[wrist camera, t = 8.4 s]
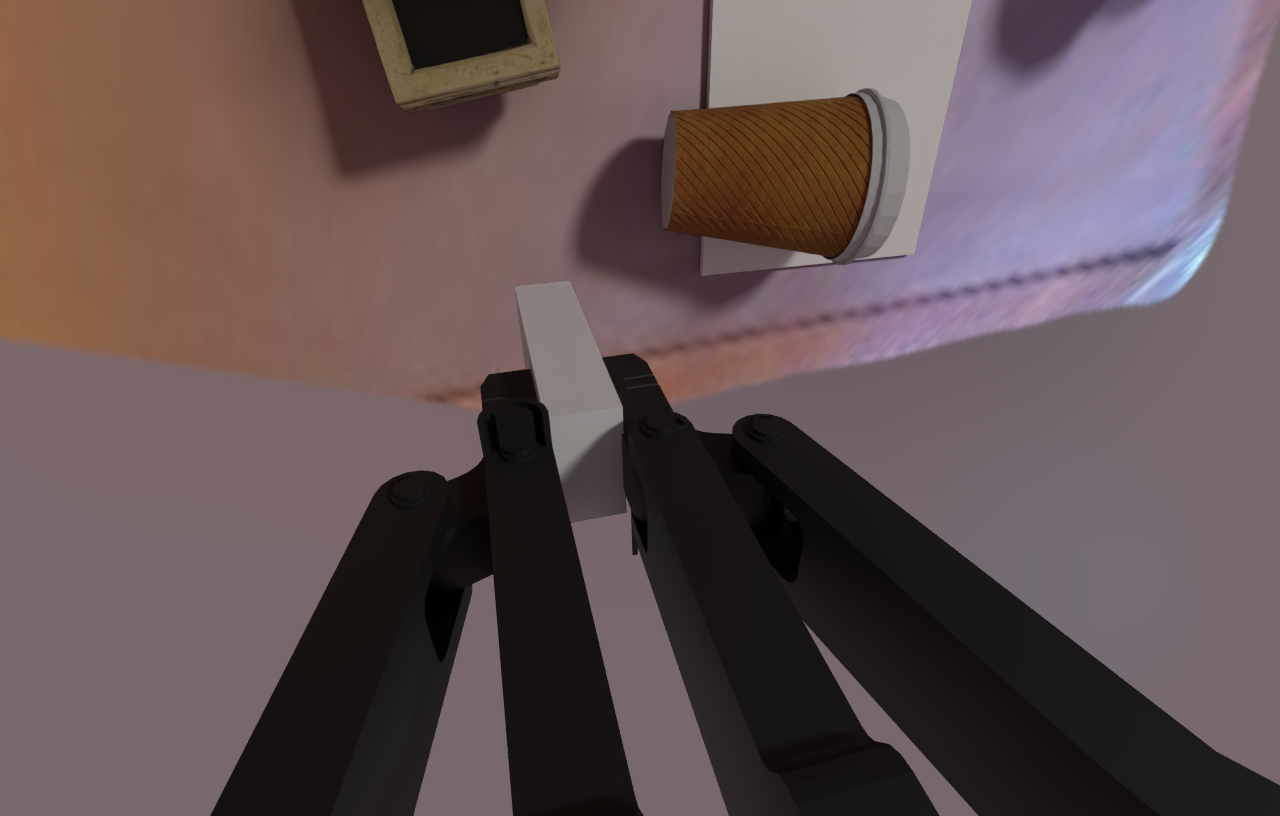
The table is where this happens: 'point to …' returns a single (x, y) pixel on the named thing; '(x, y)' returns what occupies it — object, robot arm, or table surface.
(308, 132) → the table surface
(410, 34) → the box
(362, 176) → the table surface
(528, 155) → the table surface
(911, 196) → the felt mat
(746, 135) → the disposable coffee cup
